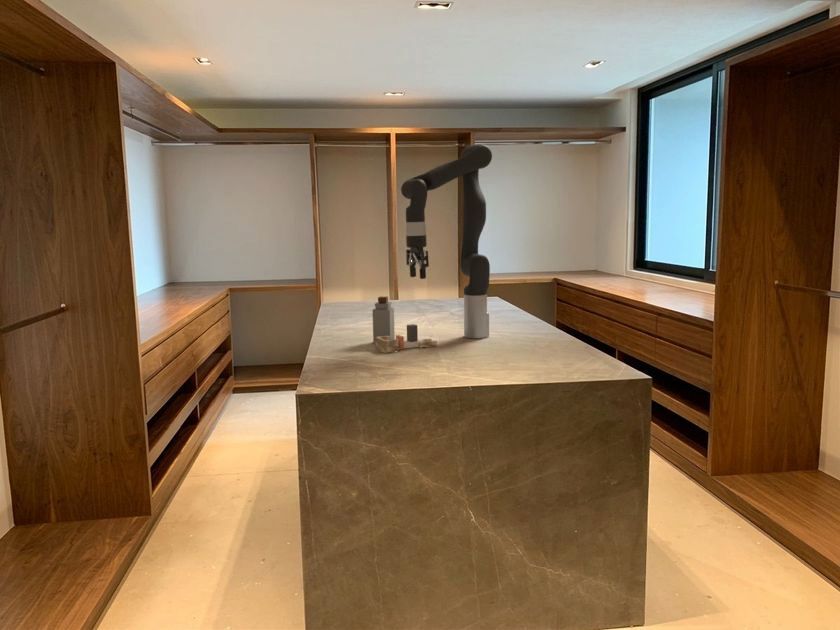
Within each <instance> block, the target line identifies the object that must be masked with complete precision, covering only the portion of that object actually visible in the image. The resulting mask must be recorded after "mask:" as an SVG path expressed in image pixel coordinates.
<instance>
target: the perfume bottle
mask: <svg viewBox="0 0 840 630" xmlns="http://www.w3.org/2000/svg"><path fill="white" fill-rule="evenodd" d="M374 306H375V308H373V309H372V338H373V341H372V342H373V345H374V344H376V341H375V337H381V336H390V340H395V339H396V335H395V307H393V306H392V301H389V296H377V302H374Z"/></svg>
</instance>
